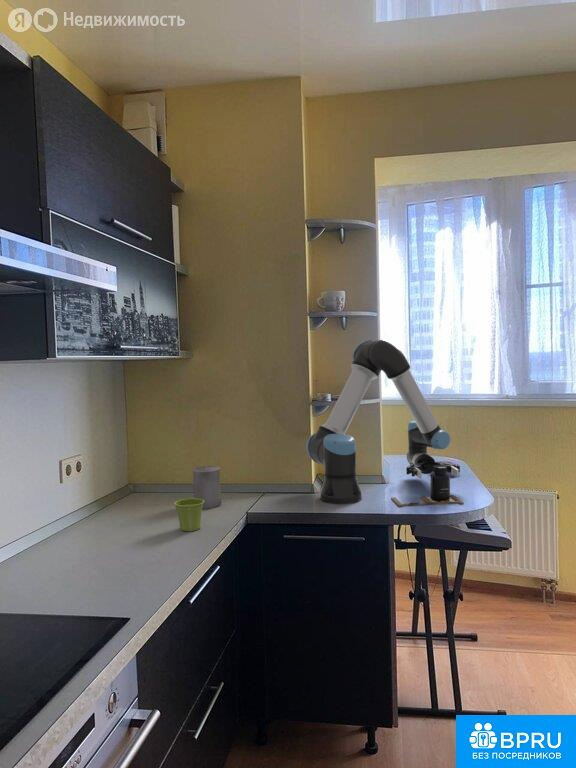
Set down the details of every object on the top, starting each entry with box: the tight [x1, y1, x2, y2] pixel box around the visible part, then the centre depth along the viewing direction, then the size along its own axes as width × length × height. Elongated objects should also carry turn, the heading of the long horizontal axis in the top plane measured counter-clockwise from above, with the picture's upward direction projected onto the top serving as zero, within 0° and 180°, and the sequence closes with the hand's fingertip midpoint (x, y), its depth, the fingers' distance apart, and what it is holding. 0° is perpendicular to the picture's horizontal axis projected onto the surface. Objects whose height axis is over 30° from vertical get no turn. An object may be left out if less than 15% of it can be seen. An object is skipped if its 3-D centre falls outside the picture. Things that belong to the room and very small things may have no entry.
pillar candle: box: [192, 464, 222, 510], centre depth 211 cm, size 10×10×15 cm
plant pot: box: [173, 498, 204, 532], centre depth 183 cm, size 9×9×9 cm
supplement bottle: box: [429, 466, 451, 502], centre depth 208 cm, size 7×7×12 cm
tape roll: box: [429, 460, 459, 477], centre depth 252 cm, size 12×12×5 cm
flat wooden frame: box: [391, 494, 465, 508], centre depth 207 cm, size 23×11×1 cm, turn 93°
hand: (439, 474), depth 211 cm, fingers open, 13 cm apart
